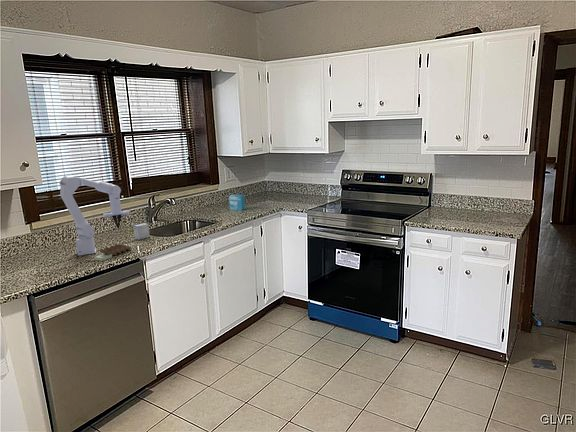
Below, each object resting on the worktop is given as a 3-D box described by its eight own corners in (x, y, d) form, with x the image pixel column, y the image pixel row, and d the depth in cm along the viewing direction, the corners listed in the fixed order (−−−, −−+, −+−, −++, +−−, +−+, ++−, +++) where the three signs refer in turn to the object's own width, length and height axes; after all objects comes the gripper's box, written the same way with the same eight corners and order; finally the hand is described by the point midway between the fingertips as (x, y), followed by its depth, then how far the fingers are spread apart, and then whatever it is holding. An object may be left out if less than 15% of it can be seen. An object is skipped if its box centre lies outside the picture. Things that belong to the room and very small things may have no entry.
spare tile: (112, 257, 236) (102, 260, 230) (105, 256, 238) (95, 260, 232) (111, 254, 236) (101, 257, 229) (105, 253, 238) (94, 257, 231)
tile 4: (116, 255, 239) (106, 252, 232) (109, 254, 241) (99, 252, 234) (116, 252, 239) (107, 249, 233) (110, 251, 241) (100, 249, 235)
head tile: (130, 250, 248) (121, 247, 242) (123, 249, 250) (114, 247, 244) (130, 247, 248) (122, 244, 242) (124, 246, 251) (115, 244, 244)
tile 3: (121, 253, 242) (111, 251, 236) (114, 252, 244) (104, 250, 238) (121, 250, 242) (112, 248, 236) (114, 250, 244) (105, 247, 238)
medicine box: (145, 236, 279) (144, 223, 277) (149, 237, 276) (148, 223, 274) (134, 238, 273) (133, 225, 271) (138, 239, 270) (137, 226, 268)
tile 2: (125, 251, 245) (116, 249, 239) (119, 251, 247) (109, 248, 241) (126, 249, 245) (117, 246, 239) (119, 248, 247) (110, 245, 241)
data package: (229, 209, 354) (228, 195, 351) (232, 208, 358) (231, 194, 355) (242, 210, 348) (241, 195, 346) (245, 209, 352) (244, 194, 350)
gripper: (102, 207, 250) (105, 230, 253) (128, 204, 255) (131, 227, 258) (102, 205, 256) (105, 227, 259) (128, 203, 261) (131, 225, 264)
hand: (118, 227), depth 259 cm, fingers closed
